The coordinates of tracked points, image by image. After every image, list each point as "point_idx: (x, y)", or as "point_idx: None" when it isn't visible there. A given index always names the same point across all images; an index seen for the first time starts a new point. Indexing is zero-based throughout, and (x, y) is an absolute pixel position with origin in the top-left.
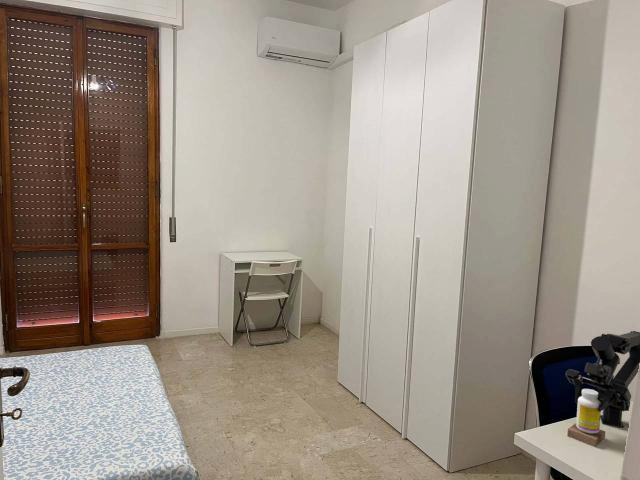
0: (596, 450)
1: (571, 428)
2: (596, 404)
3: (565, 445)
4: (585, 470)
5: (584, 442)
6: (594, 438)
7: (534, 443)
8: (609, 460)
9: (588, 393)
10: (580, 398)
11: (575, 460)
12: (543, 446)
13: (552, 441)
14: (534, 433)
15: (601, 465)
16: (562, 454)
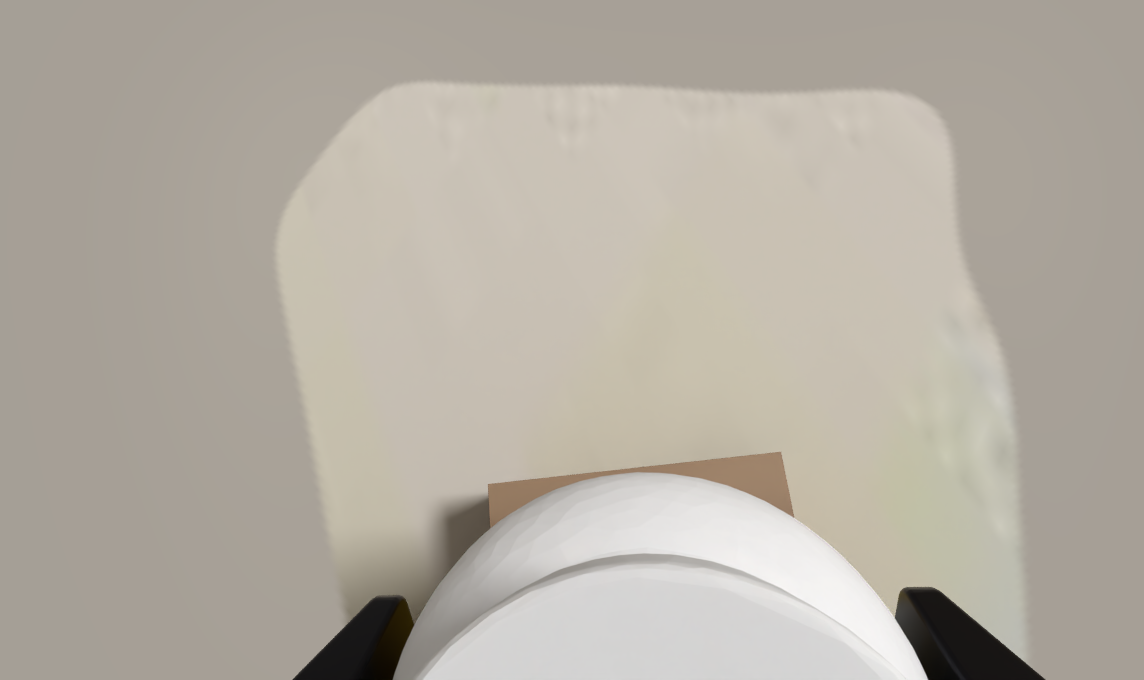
0: (475, 441)
1: (765, 496)
2: (413, 641)
3: (667, 281)
4: (409, 103)
5: None
6: (505, 496)
7: (815, 92)
8: (348, 375)
9: (583, 596)
10: (829, 592)
11: (505, 151)
12: (749, 114)
13: (766, 244)
14: (944, 227)
15: (363, 251)
16: (601, 141)
